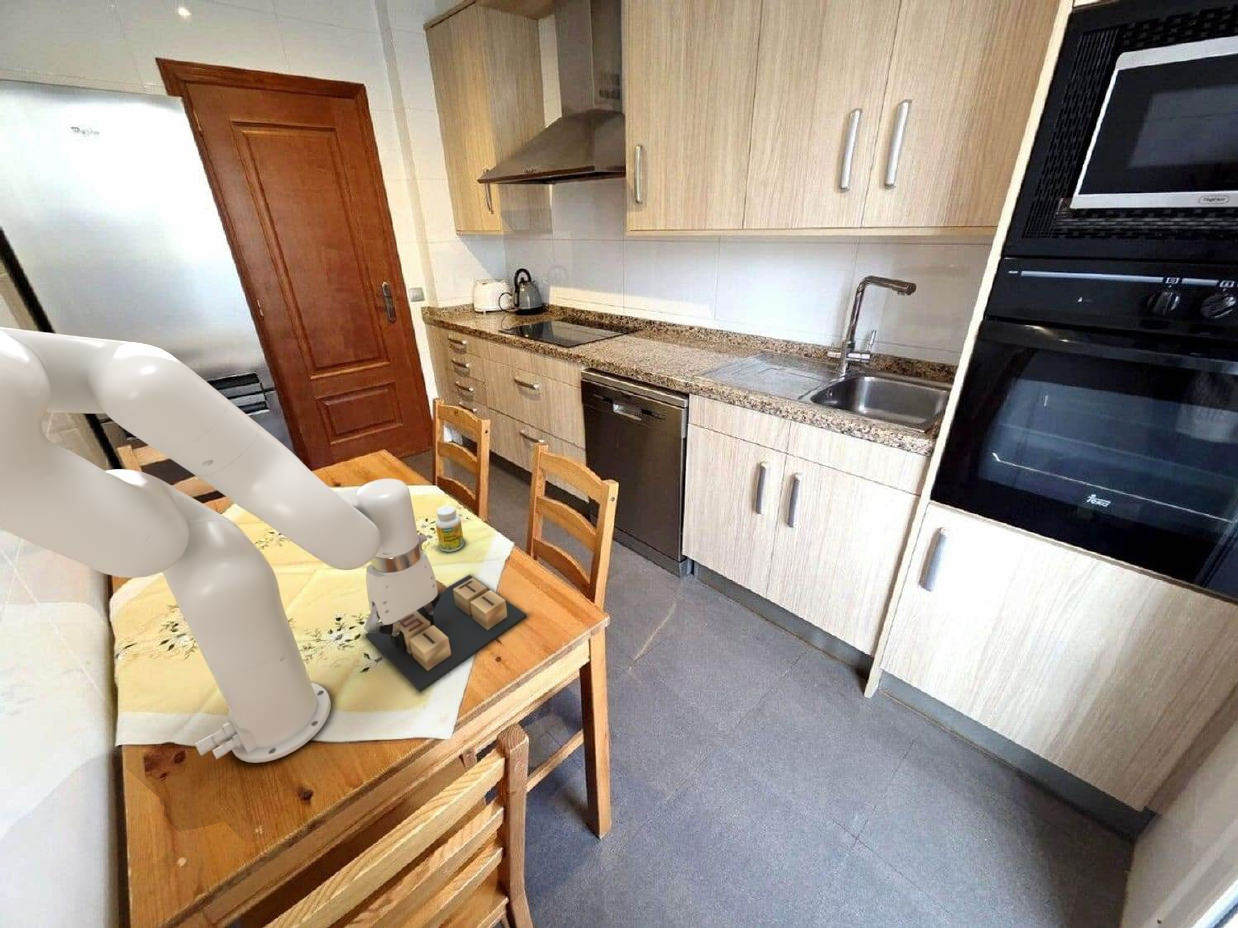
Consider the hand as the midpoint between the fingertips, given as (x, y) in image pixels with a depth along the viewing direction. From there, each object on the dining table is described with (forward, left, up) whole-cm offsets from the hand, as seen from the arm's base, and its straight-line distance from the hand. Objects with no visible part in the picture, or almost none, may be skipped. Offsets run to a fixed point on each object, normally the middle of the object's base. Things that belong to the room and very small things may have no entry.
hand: (414, 637), depth 88 cm
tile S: (0, 0, -1) cm, 1 cm away
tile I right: (+12, -6, -1) cm, 13 cm away
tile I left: (0, -6, -1) cm, 6 cm away
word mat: (+6, -1, -1) cm, 6 cm away
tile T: (+12, 0, -1) cm, 12 cm away
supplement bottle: (+21, +20, -1) cm, 29 cm away
